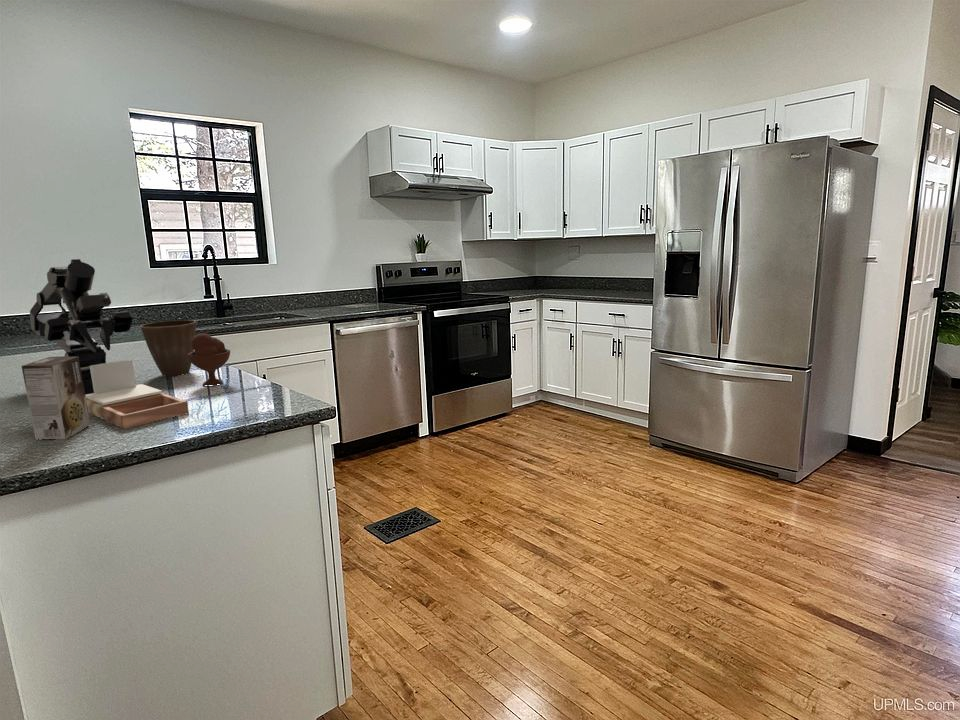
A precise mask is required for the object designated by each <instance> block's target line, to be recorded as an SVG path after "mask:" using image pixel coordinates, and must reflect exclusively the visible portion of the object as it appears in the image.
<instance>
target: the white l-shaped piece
mask: <svg viewBox="0 0 960 720" xmlns="http://www.w3.org/2000/svg"><path fill="white" fill-rule="evenodd" d="M134 370H135V369H134V363H133V360H132V359H130V358H129V359H123V360H118V361H111V362H106V363H104V364H97V365H91V366H90V371H91V377H92V383H93V389H94V393H92V394H87V395H85V396H86V398H88V399H90V400H92V401H95V402H97V403H99V404H102V405H108V404H112V403H117V402H122V401H127V400H131V399H136V398H141V397H146V396H151V395H155V394H160V393H163V390H161V389H158V388H155V387H152V386H149V385H147V384H143V383H140V384H137V382H136V377H135V371H134Z"/></svg>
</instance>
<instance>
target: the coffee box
mask: <svg viewBox="0 0 960 720" xmlns="http://www.w3.org/2000/svg"><path fill="white" fill-rule="evenodd" d="M20 366H21V371H22V375H23V376H22V377H23V381H24V386H25V391H26V396H27V400H28V401H27V402H28V407H29V412H30V417H31V422H32V428H33V432H34V437H35V440H36V441H43V440H42V439H56V440H67V439H68V438H70V436H71V437H72V436H74V435H76V434H78V433H80V432H81V431H83V430H84V428H85V429H87V428H88V427H90V426H91V425H92V424H91V418H90V413H88V407H87V402H86V396H85V390H84V385H83V379H82V374H81V368H80V363H79V358H78V356H76V357H67V356H65V355H63V356H62V355H61V356H47V357H46V358H42V359H39V360H35V361H32V362H29V363H27V364H24V365H20ZM89 425H90V426H89ZM87 426H88V427H87ZM86 427H87V428H86ZM82 429H83V430H82ZM77 432H78V433H77ZM38 439H39V440H38Z"/></svg>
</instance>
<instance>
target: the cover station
mask: <svg viewBox="0 0 960 720" xmlns="http://www.w3.org/2000/svg"><path fill="white" fill-rule="evenodd" d="M86 402H87V407H88V412H90V413H89V414H91V413H92V414H91V415H93V414H94V415H93V416H95V415H96V416H95V417H97V416H99V417H101V418H103V419H102V420H104V419H105V420H104V421H106V420H107V421H106V422H108V421H109V422H108V423H110V422H112V423H113V424H112V423H111V424H112V425H114V424H116V425H118V426H117V427H119V426H120V427H119V428H121V427H122V428H121V429H123V428H124V429H123V430H126V429H125V428H127V429H130V428H129V427H131V428H134V427H133V426H135V427H138V425H139V426H143V425H146V424H151V422H152V423H155V422H154V421H156V422H159V421H158V420H160V421H162V420H161V419H164V420H166V419H165V418H168V419H171V418H170V417H172V418H175V416H176V417H180V416H183V414H184V415H187V414H186V413H188V414H190V411H189V404H188V401H187V400H185V399H181V398H179V397H176V396H173V395H171V394H170V395H169V394H166V393H165V392H162V393H160V394H155V395H151V396H146V397H141V398H136V399H131V400H127V401H122V402H117V403H112V404H108V405H102V404H99V403H97V402H95V401H92V400H90V399H88V398H86ZM179 415H180V416H179ZM99 417H98V418H99ZM101 418H100V419H101ZM142 424H143V425H142ZM116 425H115V426H116Z"/></svg>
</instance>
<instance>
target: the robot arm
mask: <svg viewBox="0 0 960 720" xmlns="http://www.w3.org/2000/svg"><path fill="white" fill-rule="evenodd" d="M95 272H96V270H95V267H93V266H92V265H90V264H89V263H87V262H83V261H82V260H81V259H79V258H76V259H74V258H73V259H70V263H69V264H68V265H67V266H52V267H50V268H49V270H48V271H47V272H46V278H47V284H45V286H44V287H43V288H42V290H41V291H38V292H37V293H36V302H35V303H34V305H33V306H32V307H31V309H30V310H29V324H30V325H29V326H30V328H31V331H33V332H34V333H35V334H36V335H38V336H39V337H44V338H46V341H48V342H52V341H53V342H55V344H57V345H58V346H59V347H60V348H61V349H62V350H63V351H64V352H65V353H64V356H67V357H76V356H78V358H79V363H80V368H81V374H82V379H83V385H84V390H85V395H87V394H92V393H94V389H93V383H92V377H91V371H90V366H91V365H97V364H104V363H107V358H106V357H107V353H106V351H105V350H104V348H105V349H106V350H107V351H110V350H111V336H113V335H114V333H116V334H118V333H126V332H129V331H130V330H131V326H132V324H133V320H134V317H133V315H132V313H131V312H130V311H119V312H118V311H117V312H112V314H111V318H110V317H106V318H102V317H103V315H104V312H103V308H107V307H109V306H110V305H111V304H112V300H111V297H110V295H109V294H108V293H107V292H101V293H99V294H89V291H91V290H92V287H93V282H94V278H95V275H96V274H95ZM62 304H65V305H66V306H65V307H66V308H67V310H68V311H66V309H65V308H64V307H63V305H62ZM55 305H56V306H57V305H58V306H59V307H60V308H61V309H60V310H61V312H57V313H56V312H55V313H44V314H40V313H41V312H42V310H43V308H44V307H45V306H55ZM69 319H70V320H69ZM96 329H97V330H99V331H100V332H99V338H100V340H101V342H102V343H103V346H104V348H103V347H101V345H100V344H99V342H98V341H96V340H95V339H94V338H93V337H92V336H91V335H90V333H89V330H96Z"/></svg>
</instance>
